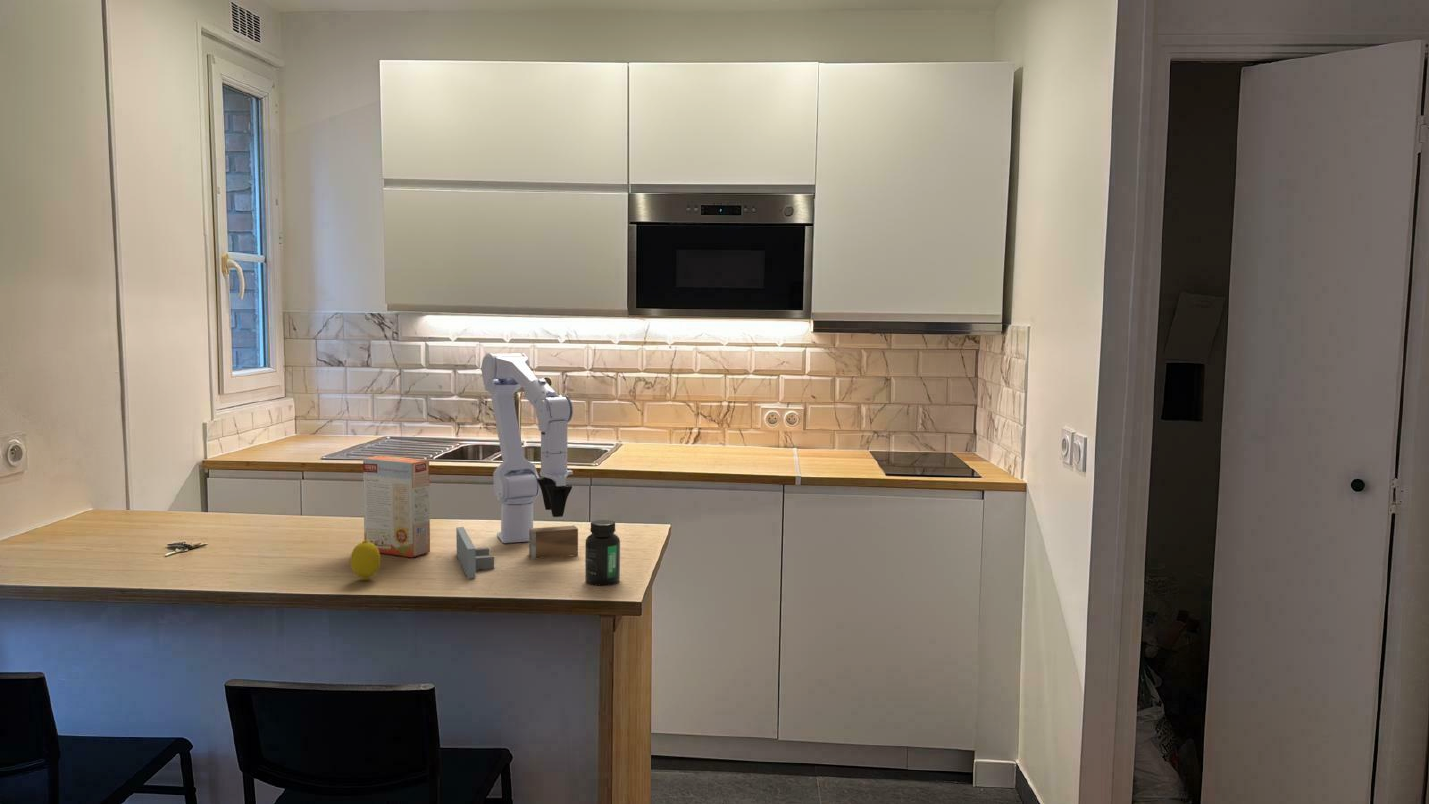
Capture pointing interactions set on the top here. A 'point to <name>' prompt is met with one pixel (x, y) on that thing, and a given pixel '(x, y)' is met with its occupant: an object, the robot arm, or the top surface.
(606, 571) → the supplement bottle
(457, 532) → the grey plank with pegs
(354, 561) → the lemon
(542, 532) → the block
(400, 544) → the cracker box
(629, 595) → the top surface
